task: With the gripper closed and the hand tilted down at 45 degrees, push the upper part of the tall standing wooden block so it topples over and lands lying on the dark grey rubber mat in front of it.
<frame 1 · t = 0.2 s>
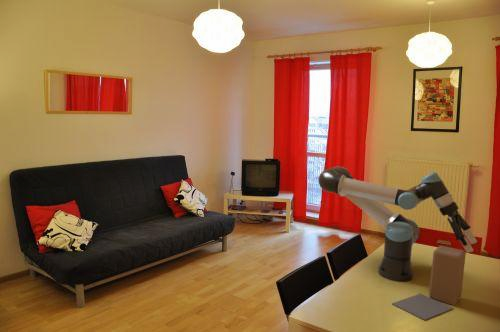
hand: (472, 247, 178), 16 cm above the table, tool tilted 35°, fingers open, 13 cm apart
wooden block: (444, 298, 162), on the table
mat: (422, 306, 154), on the table
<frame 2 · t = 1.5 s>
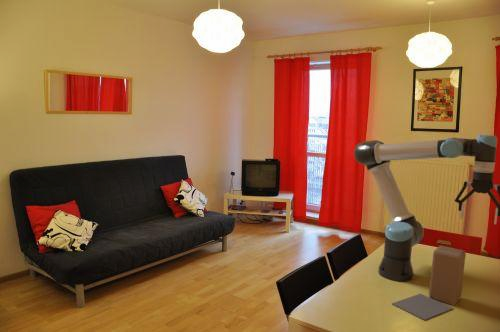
hand: (478, 221, 173), 28 cm above the table, tool pointing down, fingers open, 12 cm apart
nothing on the table moved.
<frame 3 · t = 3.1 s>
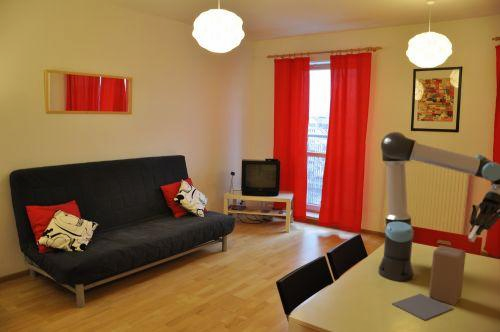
hand: (470, 239, 167), 22 cm above the table, tool tilted 45°, fingers closed
nothing on the table moved.
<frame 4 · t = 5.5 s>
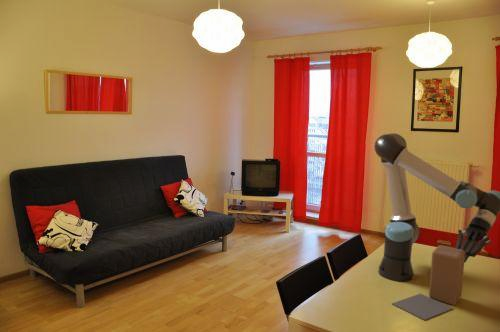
hand: (456, 267, 163), 12 cm above the table, tool tilted 45°, fingers closed
wooden block: (444, 297, 162), on the table, touching mat
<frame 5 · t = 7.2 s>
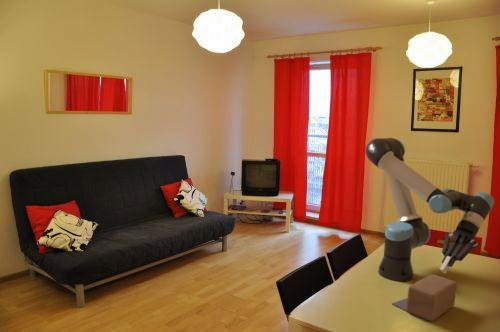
hand: (442, 271, 158), 12 cm above the table, tool tilted 45°, fingers closed
wooden block: (443, 288, 158), point 5 cm above the table, touching mat
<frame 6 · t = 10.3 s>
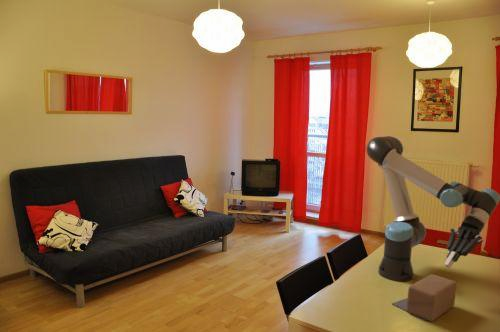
hand: (447, 266, 160), 13 cm above the table, tool tilted 45°, fingers closed
nothing on the table moved.
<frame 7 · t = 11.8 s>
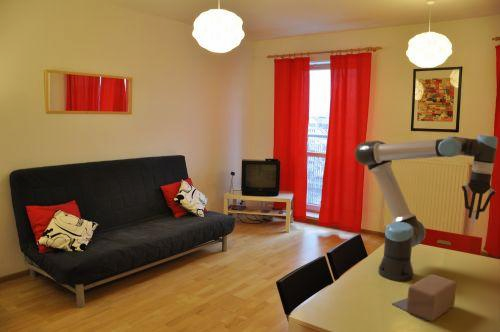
hand: (471, 225, 173), 26 cm above the table, tool pointing down, fingers closed
nothing on the table moved.
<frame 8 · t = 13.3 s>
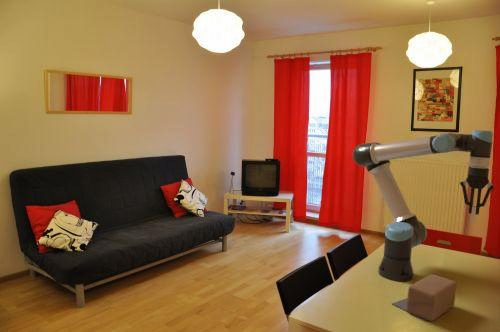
hand: (472, 221, 173), 28 cm above the table, tool pointing down, fingers closed
nothing on the table moved.
at the end: wooden block tilted 90°; wooden block inside the target area (7.1 cm from its centre), point 5.4 cm above the table; wooden block moved 7.1 cm from its start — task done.
